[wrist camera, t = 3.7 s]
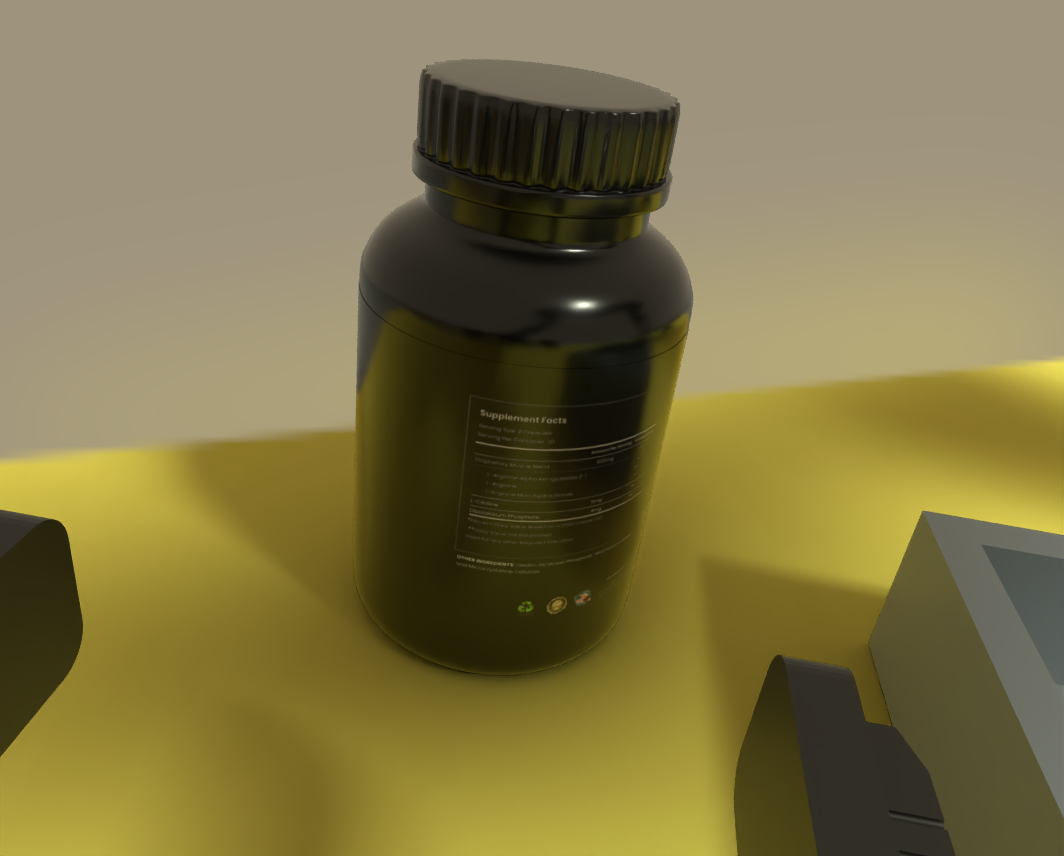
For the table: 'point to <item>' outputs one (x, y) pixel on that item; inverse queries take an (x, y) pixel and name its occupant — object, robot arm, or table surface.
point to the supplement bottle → (516, 365)
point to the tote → (981, 678)
